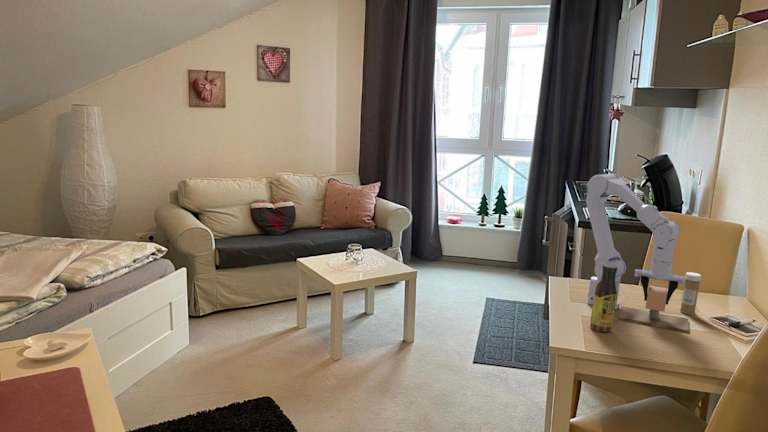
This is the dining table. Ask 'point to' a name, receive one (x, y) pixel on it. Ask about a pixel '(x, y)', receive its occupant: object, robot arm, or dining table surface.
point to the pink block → (656, 298)
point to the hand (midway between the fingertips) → (655, 301)
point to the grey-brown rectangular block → (654, 319)
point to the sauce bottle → (604, 300)
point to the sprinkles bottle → (690, 293)
